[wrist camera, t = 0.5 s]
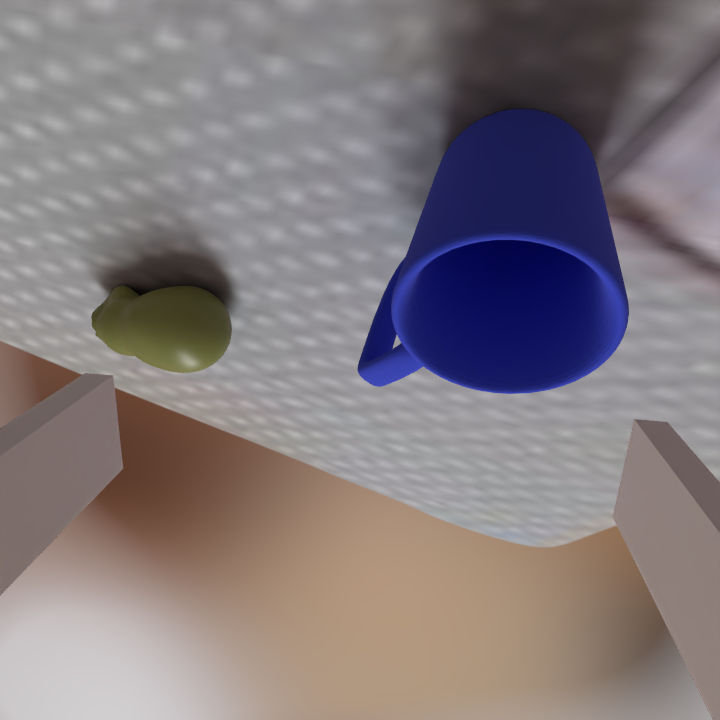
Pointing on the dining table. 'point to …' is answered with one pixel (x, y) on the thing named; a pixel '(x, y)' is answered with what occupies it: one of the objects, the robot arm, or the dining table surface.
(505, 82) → the dining table surface
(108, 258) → the dining table surface
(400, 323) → the mug
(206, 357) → the pear
